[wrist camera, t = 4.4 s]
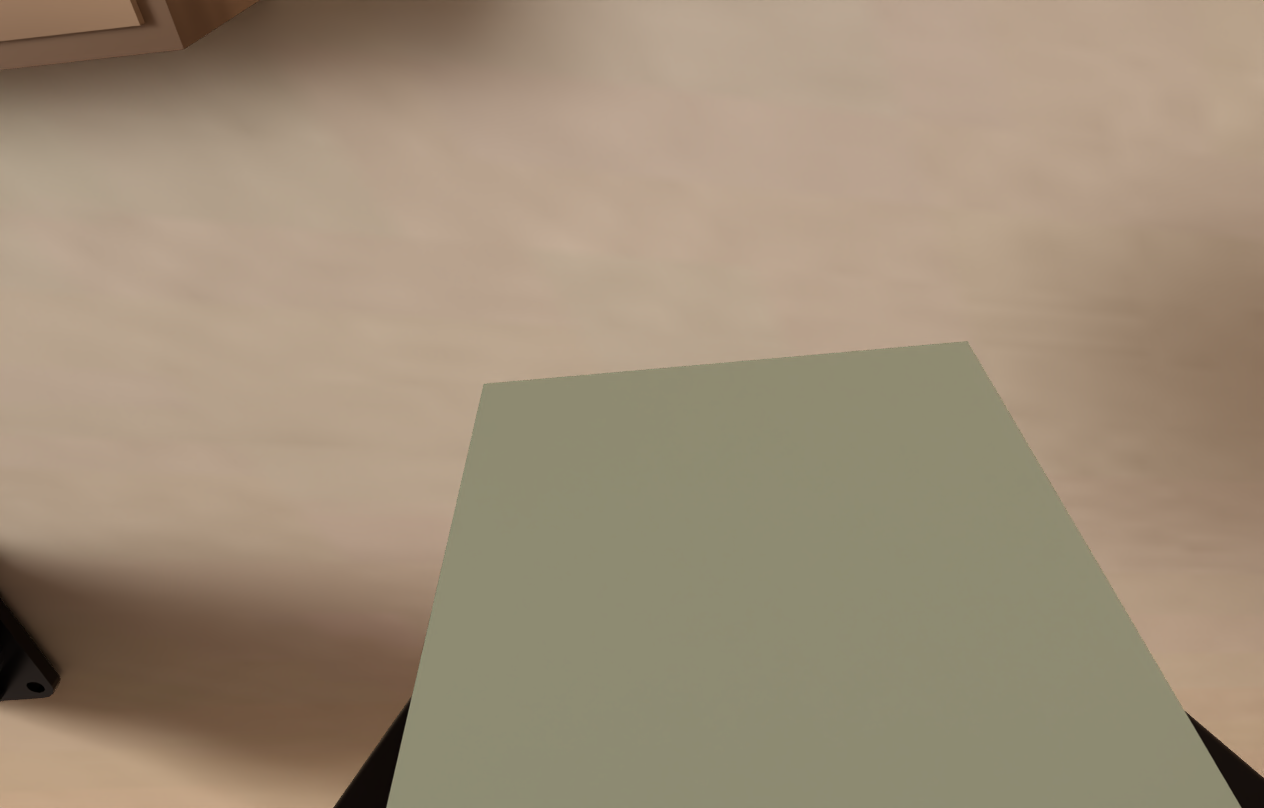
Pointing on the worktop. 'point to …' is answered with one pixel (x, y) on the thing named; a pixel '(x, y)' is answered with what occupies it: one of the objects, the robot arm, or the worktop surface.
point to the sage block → (780, 605)
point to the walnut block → (104, 28)
